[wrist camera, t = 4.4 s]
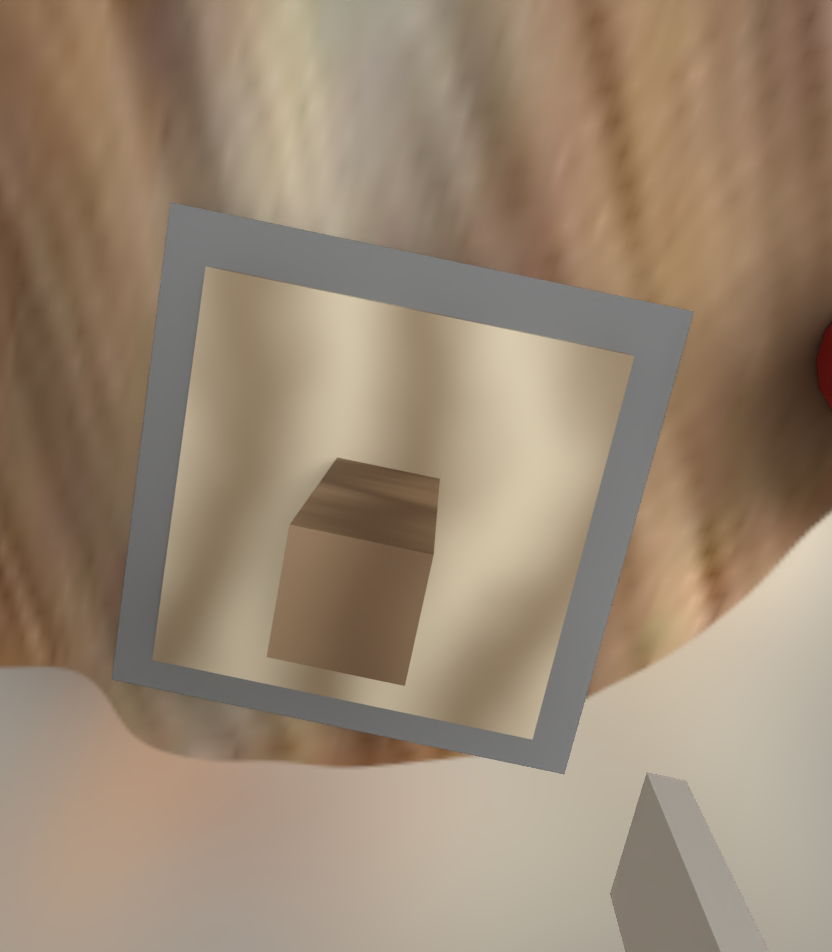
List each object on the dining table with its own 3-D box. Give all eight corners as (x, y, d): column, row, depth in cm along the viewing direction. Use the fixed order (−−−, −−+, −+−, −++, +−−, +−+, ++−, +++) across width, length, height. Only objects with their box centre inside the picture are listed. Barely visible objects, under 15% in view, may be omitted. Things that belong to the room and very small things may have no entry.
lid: (162, 647, 34) (40, 795, 24) (215, 267, 30) (96, 254, 20) (529, 723, 34) (561, 904, 24) (627, 353, 30) (713, 383, 20)
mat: (119, 670, 35) (111, 679, 34) (178, 204, 30) (170, 202, 29) (561, 763, 35) (564, 774, 34) (687, 311, 30) (694, 311, 29)
